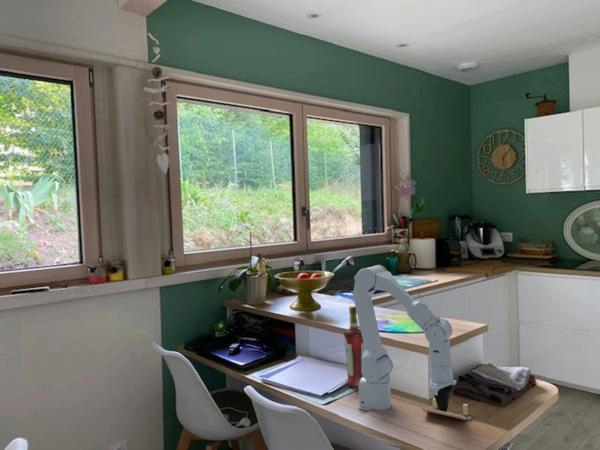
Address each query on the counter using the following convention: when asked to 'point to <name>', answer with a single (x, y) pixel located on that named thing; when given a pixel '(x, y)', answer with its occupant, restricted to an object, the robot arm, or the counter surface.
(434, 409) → the tile
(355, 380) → the liquor
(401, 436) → the counter surface
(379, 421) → the counter surface
